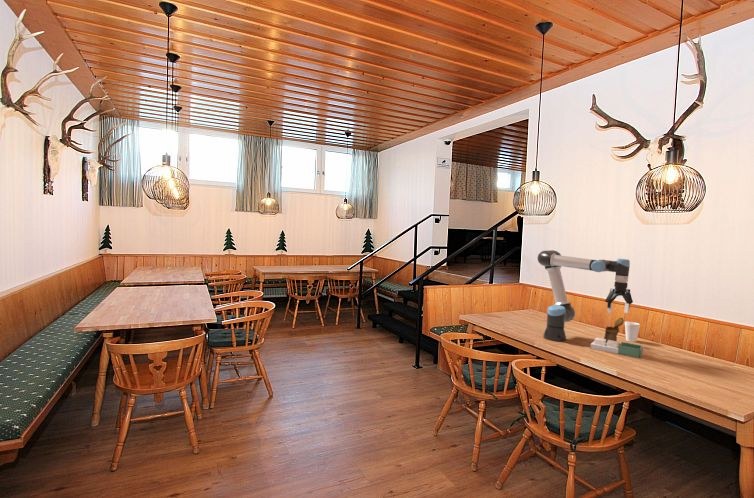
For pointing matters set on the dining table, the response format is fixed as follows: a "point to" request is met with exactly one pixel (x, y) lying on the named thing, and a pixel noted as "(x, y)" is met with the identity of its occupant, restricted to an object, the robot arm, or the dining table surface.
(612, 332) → the wooden mug
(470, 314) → the dining table surface
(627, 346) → the box
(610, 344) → the tile
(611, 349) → the board
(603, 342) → the tile
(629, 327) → the foam cup
